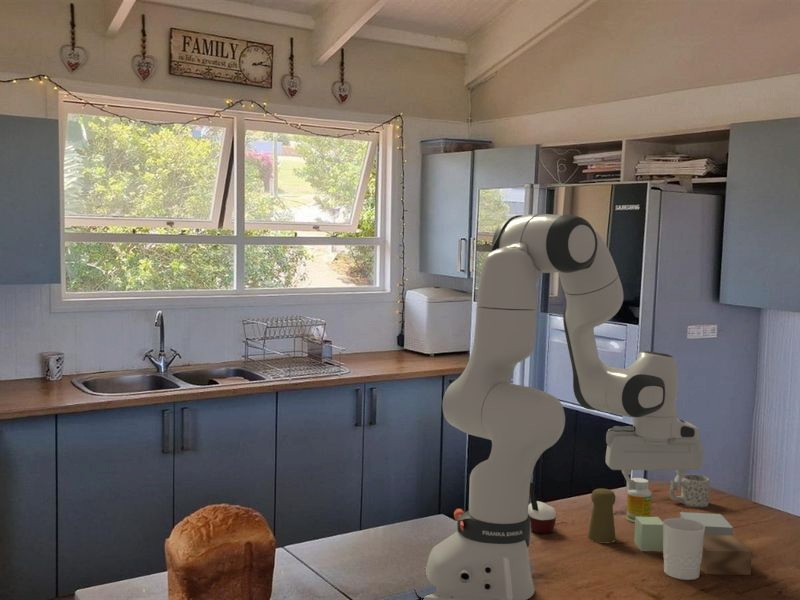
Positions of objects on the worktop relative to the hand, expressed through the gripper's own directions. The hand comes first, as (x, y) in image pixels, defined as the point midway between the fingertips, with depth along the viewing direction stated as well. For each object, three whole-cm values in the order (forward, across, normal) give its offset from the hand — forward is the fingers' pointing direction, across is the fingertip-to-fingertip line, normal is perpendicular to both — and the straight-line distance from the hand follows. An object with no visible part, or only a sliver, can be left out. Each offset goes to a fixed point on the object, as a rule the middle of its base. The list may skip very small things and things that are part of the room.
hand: (652, 489), depth 175 cm
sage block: (+13, 0, 0) cm, 13 cm away
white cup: (+13, +2, -14) cm, 19 cm away
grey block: (+13, +14, +5) cm, 19 cm away
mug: (+14, +20, +32) cm, 40 cm away
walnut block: (+13, +11, -10) cm, 20 cm away
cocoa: (+13, -22, +9) cm, 27 cm away
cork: (+13, -10, +5) cm, 17 cm away
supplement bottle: (+13, +2, +18) cm, 22 cm away
